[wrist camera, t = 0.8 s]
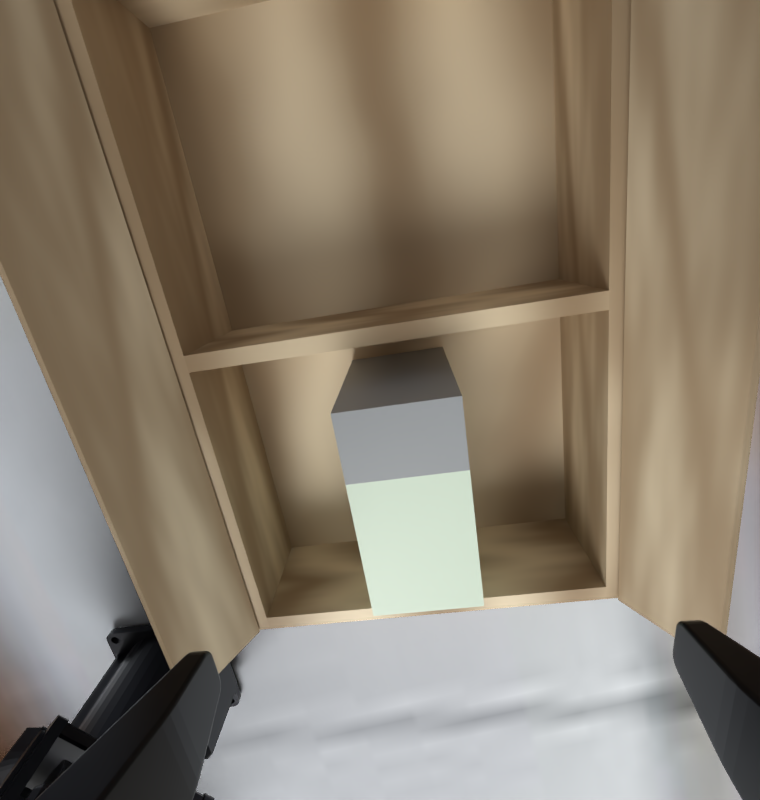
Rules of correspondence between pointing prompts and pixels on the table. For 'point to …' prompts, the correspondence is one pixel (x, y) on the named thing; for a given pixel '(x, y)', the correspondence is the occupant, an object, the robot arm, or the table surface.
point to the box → (409, 482)
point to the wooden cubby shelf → (392, 284)
